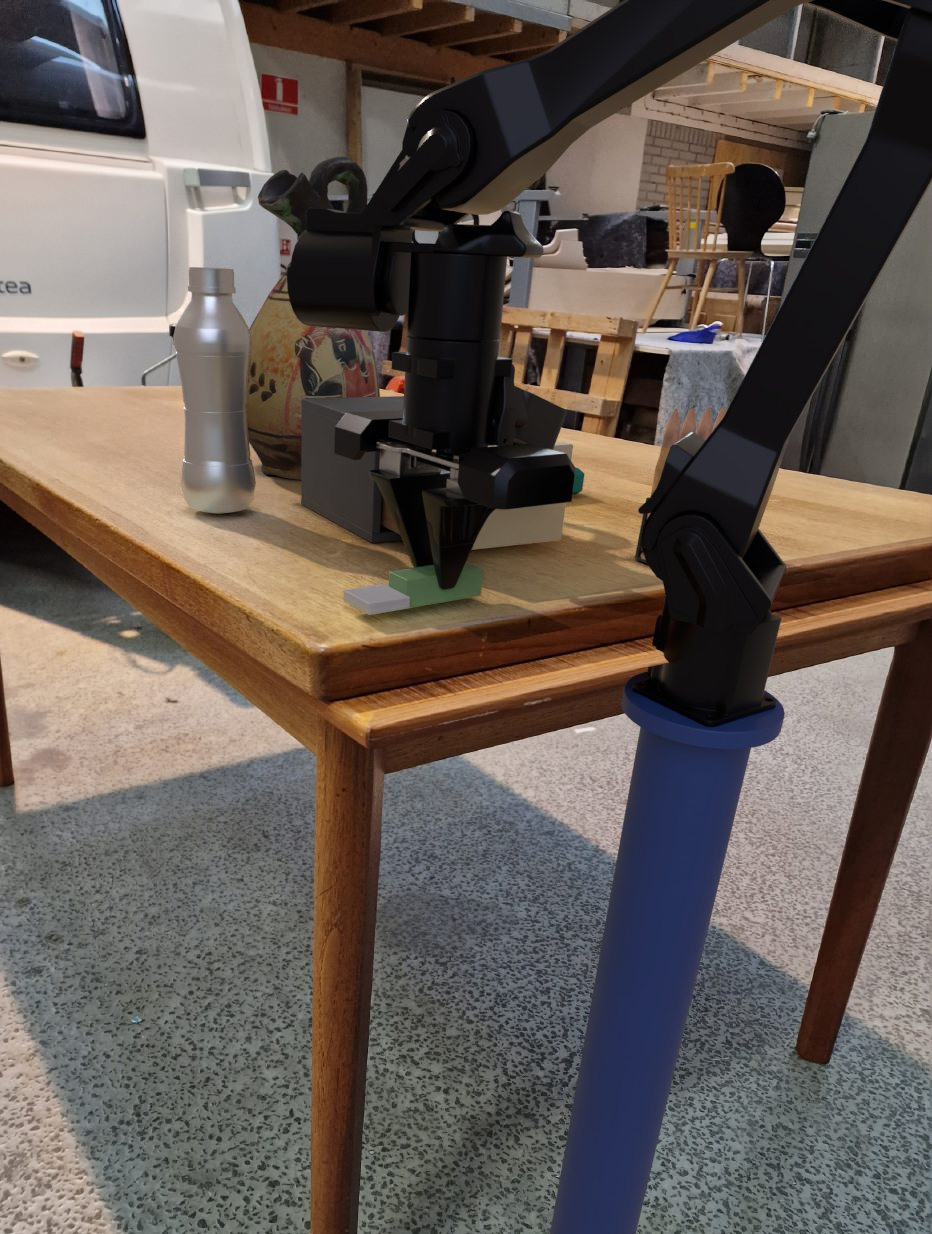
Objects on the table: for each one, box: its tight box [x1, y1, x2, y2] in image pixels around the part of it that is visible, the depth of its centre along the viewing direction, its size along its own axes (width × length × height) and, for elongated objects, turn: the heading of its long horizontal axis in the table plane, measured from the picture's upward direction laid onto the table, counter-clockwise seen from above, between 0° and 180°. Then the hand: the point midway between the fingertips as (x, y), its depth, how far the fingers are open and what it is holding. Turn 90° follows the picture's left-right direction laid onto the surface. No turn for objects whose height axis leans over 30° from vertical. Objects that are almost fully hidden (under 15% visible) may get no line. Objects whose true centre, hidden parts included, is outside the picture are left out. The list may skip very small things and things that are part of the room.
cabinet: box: [300, 395, 404, 544], centre depth 87 cm, size 15×15×10 cm
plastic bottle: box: [173, 266, 257, 515], centre depth 83 cm, size 6×7×20 cm
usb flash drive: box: [343, 560, 484, 616], centre depth 65 cm, size 10×3×2 cm, turn 123°
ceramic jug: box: [246, 156, 381, 481], centre depth 99 cm, size 17×15×30 cm
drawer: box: [380, 441, 574, 551], centre depth 79 cm, size 18×13×8 cm
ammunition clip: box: [634, 406, 727, 565], centre depth 78 cm, size 11×2×12 cm, turn 120°
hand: (436, 583), depth 66 cm, fingers closed on usb flash drive, 2 cm apart
